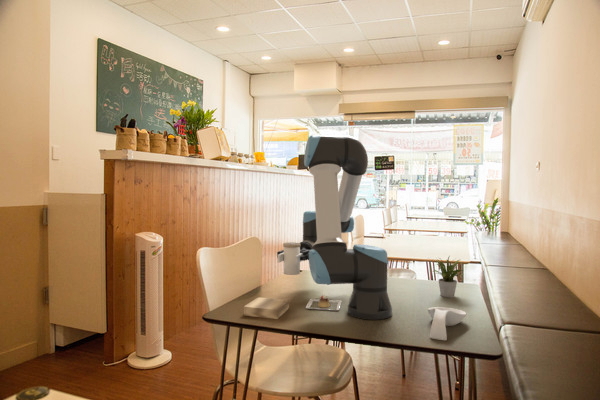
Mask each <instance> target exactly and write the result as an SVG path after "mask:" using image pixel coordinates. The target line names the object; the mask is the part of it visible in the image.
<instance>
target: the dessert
mask: <svg viewBox="0 0 600 400" xmlns="http://www.w3.org/2000/svg"><path fill="white" fill-rule="evenodd" d="M313 302H318V304H317V306H318V307H319V308H317V307H311V306H312V305H313ZM331 303H337V305H336V309H334V308H333V309H332V308H330V307H331ZM341 304H342V300H337V299H329V297H327V296H326V294H323V293H322V295H321V296H320V298H310V299H309V300H308V302H307V304H306V306H305V309H307V310H320V311H332V312H333V311H334V312H335V311H336V312H337V311H340V308H341Z"/></svg>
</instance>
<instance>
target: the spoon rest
mask: <svg viewBox="0 0 600 400" xmlns="http://www.w3.org/2000/svg"><path fill="white" fill-rule="evenodd" d="M427 313H428V314H429V316H430V317H431V318H432V323H431V326H430V331H429V339H433V340H438V341H447V338H448V337H447V328H446V327H448V326H451V327H452V326H456V325H458V324H459V323H461V322H462V321H463V320H464V319H465V318H466V316H467V313H466V311H464V310H461V309H456V308H453V307H452V308H451V307H441V306H436V307H435V306H434V307H429V308H428V307H427Z"/></svg>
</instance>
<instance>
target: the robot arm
mask: <svg viewBox="0 0 600 400" xmlns="http://www.w3.org/2000/svg"><path fill="white" fill-rule="evenodd" d="M303 155H304V158H303V164H304V167H306V168H308V171H309V174H311V175H312V176H313V191H314V205H315V206H314V207H315V210H312V211H311V210H309V211H307V210H306V211H304V212H303V216H302V241H301V242H299V243H300V244H301V247H300V254H298V255H296V256H295V264H297V263H299V262H300V263H301V262H305V261H308V265H309V272H310V275H311V277H312V280H313V282H314V283H316V284H317V285H327V286H329V285H347V284H348V285H349V284H350V285H352V291H351V295H350V297H349V300H348V304H347V313H348V314H349V315H350V316H352V317H355V318H358V319H362V320H372V321H373V320H375V321H376V320H378V321H379V320H385V319H388V318H390V317H392V316H393V306H392V304H391V300H390V298H389V297H390V296H389V293H388V264H389V262H388V252H387V251H386V249H384V248H382V247H378V246H374V245H369V244H368V245H367V244H357V243H355V244H354V245H353V247H352V248H348V246H347V241H345V240H343V235H342V234H345V233H346V234H347V233H352V232H353V231H354V228H355V220H354V216H353V215H352V214H353V209H354V206H355V203H356V198H357V195H358V192H359V189H360V184H361V182H362V181H361V180H362V178H363V175H365V174H366V173H367V169H368V166H369V165H368V163H369V158H368V153H367V150H366V148H365V147H364V145H363V143H362V142H361V141H360V140H359V139H357V138H355V137H354V136H351V135H335V134H334V135H331V134H327V135H325V134H315V135H314V134H311V135H309V136H308V138H307V140H306V145H305V149H304V154H303ZM341 170H342V176H341V180H340V184H338V183H339V181H338V174H339V173H340V172H341ZM276 257H277V263H281V262H284V249H281V250H278V251H277V252H276Z"/></svg>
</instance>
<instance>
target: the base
mask: <svg viewBox="0 0 600 400" xmlns="http://www.w3.org/2000/svg"><path fill="white" fill-rule="evenodd" d="M289 309H290V300H289V299H278V298H269V297H256V298H255V299H253V300H252V301H250V302H248V303H247V304H246V305H244V306H243V316H244V317H245V316H247V317H255V318H256V317H257V318H264V319H272V320H273V319H274V320H278V319H279V318H280V317H282V315H284V314H285V313H286V312H287V311H288V310H289Z"/></svg>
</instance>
